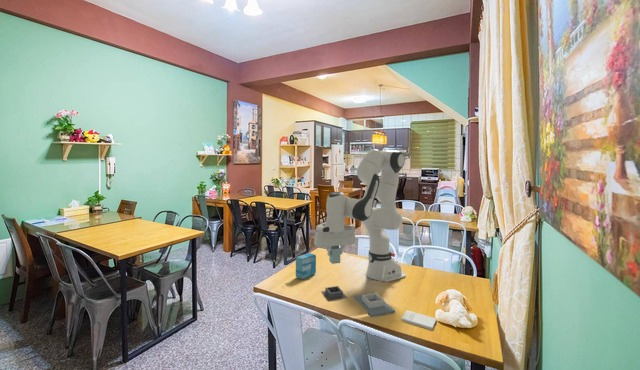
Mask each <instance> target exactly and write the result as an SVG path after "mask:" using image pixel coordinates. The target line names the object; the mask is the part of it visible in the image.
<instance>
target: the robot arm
mask: <svg viewBox="0 0 640 370" xmlns="http://www.w3.org/2000/svg"><path fill="white" fill-rule="evenodd" d="M405 161H406V159H405V155H404V153H403V152H402V151H398V150H385V149H384V150H379V149H376V148H372V149H370V150H369V151H368V152H366V154H365V155H364V157H363V158H362V159H361V161H360V163H359V164H358V166H357V169H356V176H357V178H358V179H359V181H360V182H362V183H363V184H365V185H366V189H365V192H364V194H363V197H362V198H353V197H348V196H347V195H345V193H344V192H343V191H333V192H330V193H329V194H328V195H327V197H326V209H325V210H326V219H325V222H323V223H320V224H317V225H316V227H315V229H316V231H315V232H314V239H313V240H314V241H313V245H314V246H315V247H316V248H318V249H319V248H325V249H326V251H327V256H330V255H332V252H331V251H330V247H331V246H339V248H340V249H341V250H340V255H343V251H344V250H345V246H350V245H351V246H353V245H355V244H356V227H355V226H354V225H351V224H349V225H345V223H346V222H345V218H348V219H353V220H356V221H360V222H361V223H362V225H363V226H364V227H365V229H366V232H367V234H368V237H369V238H368V239H369V250H368V265H367V269H366V272H365V276H366V277H367V278H369V279H371V280H373V281H374V280H376V281H382V282H384V283H385V282H386V283H388V282H392V281H395V280H399V279H403V278H406V273H405V272H404V271H403V270H402V266H401V265H400V263H398V261H396V260H395V257H396V253H394V252H391V251H390V238H389V236H388V235H387V234H386V233H385V232H384V230H387V231H396V230H399V229H400V228H401V226H402V225H403V216H402V214H401V212H399V211H398V208H397V205H396V199H397V198H396V196H397V192H398V191H397V190H398V186H399V182H400V181H399V179H400V178H399V177H400V173H399V172H400V171H401V170H402V169H403V167H404V165H405V164H406V163H405ZM380 171H381V174H380V176H379V173H380ZM375 199H377V200H378V202H380V207H373V206H374V202H375Z"/></svg>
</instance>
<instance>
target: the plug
mask: <svg viewBox="0 0 640 370" xmlns="http://www.w3.org/2000/svg"><path fill="white" fill-rule="evenodd" d="M340 248H341V247H340V246H331V247H330V249H329V251H331V252H332V255H330V256H329V259H328V260H329V262H330V263H331V264H332V265H335V264H341V254H340V250H341V249H340Z"/></svg>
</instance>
